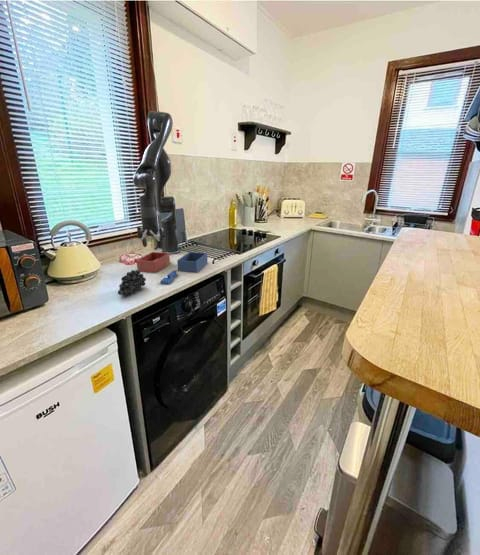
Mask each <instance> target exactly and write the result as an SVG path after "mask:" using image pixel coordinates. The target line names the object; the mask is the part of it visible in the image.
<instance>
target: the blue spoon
mask: <svg viewBox="0 0 480 555" xmlns="http://www.w3.org/2000/svg"><path fill="white" fill-rule="evenodd" d="M177 271H178V269H174V270H172V271H171V272H169V273H168V274H167V275H166V277H164V278H162V279H161V280H160V281H159V282H160V283H159V284H161V285H163V284H164V285H170V284H171V283H172V282H173V281H174V278H176V277H177V276H178V273H177Z"/></svg>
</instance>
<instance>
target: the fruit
mask: <svg viewBox="0 0 480 555" xmlns="http://www.w3.org/2000/svg"><path fill="white" fill-rule="evenodd" d="M146 281H147V279H146V277H145V275H144V273H141V271H140V270H138V269H136V270H134V269H132V270H131V271H128V272H126V275H124V276H122V277H121V283H119V286H118V288H119V290H118V291H117V294H118V295H119V296H122V297H125V298H126V297H127V296H128V294H131V295H133V294H134V293H135V292H137V291H138V290H139V291H140V290H142V289H143V287H144V286H146Z"/></svg>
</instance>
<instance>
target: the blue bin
mask: <svg viewBox="0 0 480 555" xmlns="http://www.w3.org/2000/svg"><path fill="white" fill-rule="evenodd" d="M176 262H177V271H178V272H187V273H198V272H200V270H202V269H203V268H204V267H205V266H206V265H207V264H208V253H207V252H193V251H189V252H187V253H186V254H184V255H183V256H182V257H180V258H178V259H177V261H176Z"/></svg>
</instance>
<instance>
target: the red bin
mask: <svg viewBox="0 0 480 555" xmlns="http://www.w3.org/2000/svg"><path fill="white" fill-rule="evenodd" d="M157 258H158V259H157ZM155 259H157V260H156V261H154V260H155ZM135 262H136V270H140V272H147V273H157V272H158V271H160V270H162V269H163V268H165V267H166V266H168V265H169V264H170V263H171V258H170V254H169V253H162V252H160V251H159V252H158V251H152V252H149V253H148V254H145V255H144V256H141V257H140V258H138V259H136V260H135Z"/></svg>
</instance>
